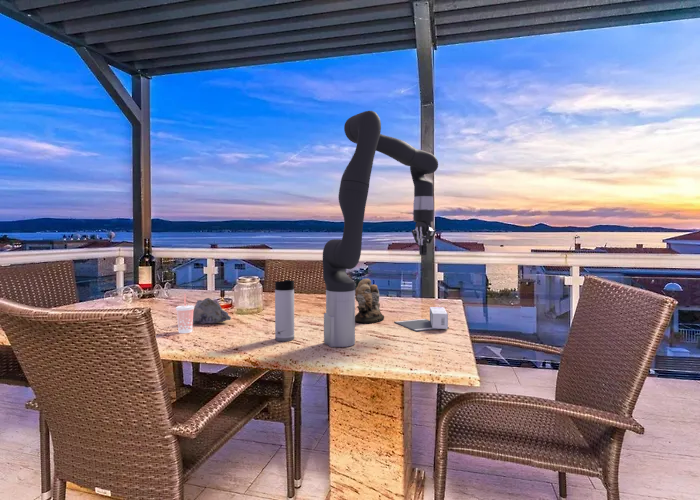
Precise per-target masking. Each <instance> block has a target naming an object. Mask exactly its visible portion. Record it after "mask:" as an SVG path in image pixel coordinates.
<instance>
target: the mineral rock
mask: <svg viewBox="0 0 700 500" xmlns="http://www.w3.org/2000/svg"><path fill="white" fill-rule="evenodd" d="M231 319H232V317H231V316H230V315H229V312H227V311H226V310H224V309H223V308H222V306H221V305H220V303H219V302H217V301H215V300H213V299H211V298H210V297H207V298H204V299H203V300H202V299H199V300H197V301H196V303H195V304H194V310H193V325H194V324H196V325H199V324H202V325H203V324H217V323H224V322H226V321H231Z"/></svg>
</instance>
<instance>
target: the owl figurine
mask: <svg viewBox="0 0 700 500" xmlns="http://www.w3.org/2000/svg"><path fill="white" fill-rule="evenodd" d="M380 296H381V295H380V291H379V288H378V285H377V284H372V280H371V279H370V278H363V279H361V280H360V281H359V282H358V284H357V287H355V302H357V304H358V305H357V306H356V308H357V310H358V313H355V323H361V324H362V323H363V324H366V325H367V324H368V325H370V324H372V323H373V324H376V323H379V322H380V323H381V322H382V321H384V320H385V316H384V314H383V313H382V311H381V309H380V306H381V303H379V302H380Z"/></svg>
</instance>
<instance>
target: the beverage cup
mask: <svg viewBox="0 0 700 500" xmlns="http://www.w3.org/2000/svg"><path fill="white" fill-rule="evenodd" d="M183 295H184V296H183V298H184V299H183V301H184V302H183V305H179V306H178V305H177V306H176V307H175V310H176V317H177V329H178V333H179V334H189V333H192V332H193V328H194V327H193V325H194V323H193V311H194V307H195V305H192V304H191V305H189V304H188V305H187V301H186V299H187V297H186V296H187V294H186V292H183Z"/></svg>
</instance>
